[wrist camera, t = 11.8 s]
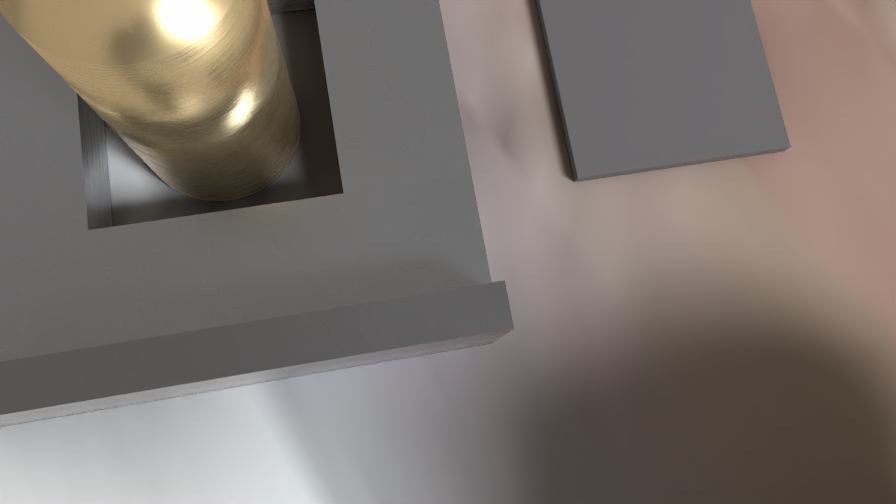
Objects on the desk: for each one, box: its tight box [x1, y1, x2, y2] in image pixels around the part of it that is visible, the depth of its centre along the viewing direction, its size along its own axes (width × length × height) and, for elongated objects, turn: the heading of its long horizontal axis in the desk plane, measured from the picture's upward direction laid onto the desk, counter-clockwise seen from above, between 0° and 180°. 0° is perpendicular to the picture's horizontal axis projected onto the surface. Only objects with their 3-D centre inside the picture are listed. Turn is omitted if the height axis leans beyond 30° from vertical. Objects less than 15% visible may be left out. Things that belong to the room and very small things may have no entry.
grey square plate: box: [536, 0, 791, 182], centre depth 24 cm, size 7×7×1 cm
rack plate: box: [0, 0, 514, 427], centre depth 21 cm, size 16×14×4 cm
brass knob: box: [0, 0, 301, 201], centre depth 18 cm, size 5×5×9 cm
